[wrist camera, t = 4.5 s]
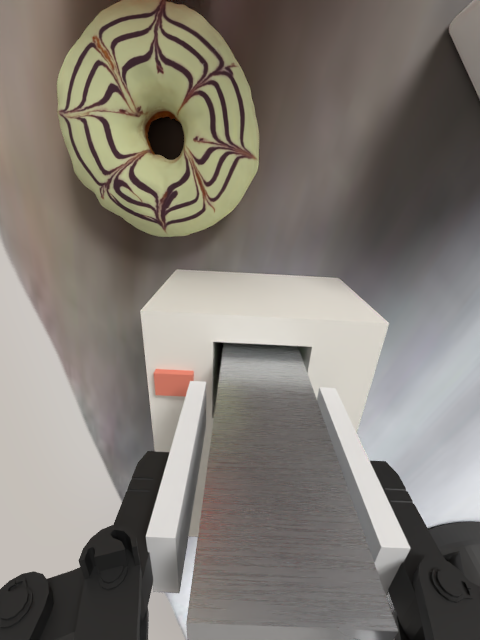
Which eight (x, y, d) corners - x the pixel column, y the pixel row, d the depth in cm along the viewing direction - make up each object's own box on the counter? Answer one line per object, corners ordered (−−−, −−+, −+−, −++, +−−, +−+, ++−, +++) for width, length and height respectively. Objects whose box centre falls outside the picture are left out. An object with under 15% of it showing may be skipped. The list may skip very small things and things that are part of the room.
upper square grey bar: (277, 348, 23) (352, 705, 7) (227, 346, 23) (191, 699, 7) (282, 302, 21) (398, 632, 5) (229, 300, 21) (186, 622, 5)
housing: (338, 277, 21) (393, 327, 13) (303, 452, 28) (326, 548, 21) (176, 269, 21) (137, 313, 13) (184, 446, 28) (161, 541, 21)
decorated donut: (167, 260, 21) (152, 274, 17) (50, 119, 17) (2, 101, 14) (287, 165, 18) (297, 160, 15) (177, -23, 15) (157, -88, 11)
